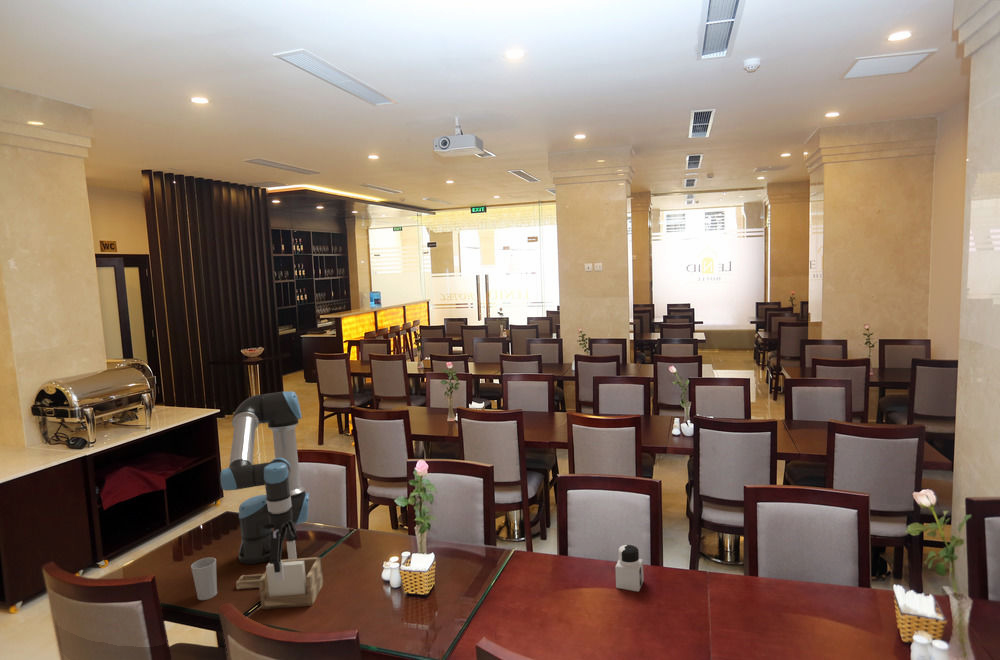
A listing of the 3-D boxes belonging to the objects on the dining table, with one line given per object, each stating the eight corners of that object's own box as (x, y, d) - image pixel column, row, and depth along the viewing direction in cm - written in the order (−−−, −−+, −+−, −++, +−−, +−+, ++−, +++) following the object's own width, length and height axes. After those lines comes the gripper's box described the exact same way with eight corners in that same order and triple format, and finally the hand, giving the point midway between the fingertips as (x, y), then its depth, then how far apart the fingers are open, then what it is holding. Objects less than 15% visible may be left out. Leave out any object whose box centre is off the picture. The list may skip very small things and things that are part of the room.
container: (643, 580, 200) (642, 544, 199) (639, 592, 193) (637, 554, 192) (621, 576, 204) (619, 540, 202) (615, 588, 197) (614, 551, 195)
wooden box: (275, 586, 211) (273, 560, 210) (323, 583, 212) (320, 556, 211) (261, 609, 197) (258, 581, 196) (312, 605, 198) (309, 577, 197)
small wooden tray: (242, 581, 216) (241, 575, 216) (281, 578, 217) (281, 572, 216) (236, 589, 211) (235, 582, 211) (277, 586, 212) (276, 579, 211)
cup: (209, 602, 204) (205, 569, 203) (189, 600, 205) (185, 568, 204) (224, 589, 212) (221, 557, 210) (205, 588, 213) (201, 557, 212)
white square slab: (272, 598, 201) (268, 562, 200) (307, 596, 202) (304, 560, 200) (270, 603, 199) (266, 566, 197) (305, 600, 199) (301, 564, 198)
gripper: (281, 495, 209) (287, 551, 212) (254, 527, 184) (261, 590, 187) (302, 493, 209) (308, 550, 212) (278, 525, 184) (285, 588, 187)
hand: (286, 569), depth 199 cm, fingers open, 13 cm apart
